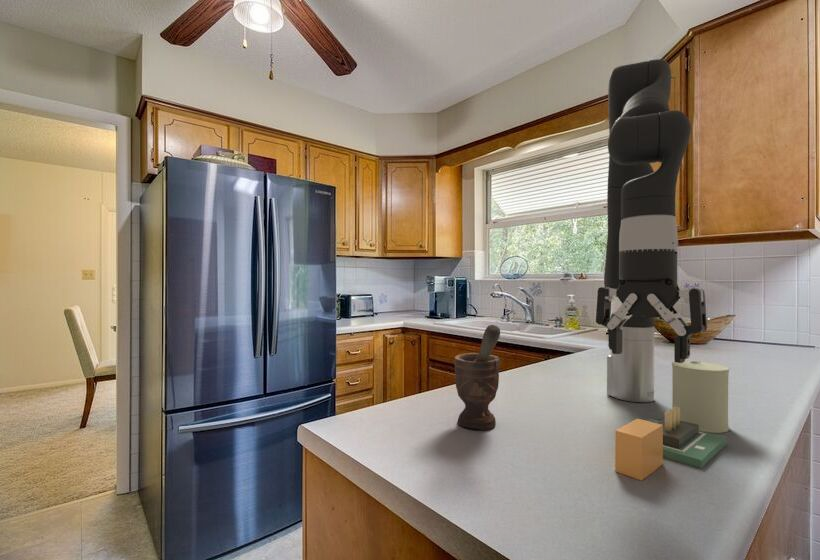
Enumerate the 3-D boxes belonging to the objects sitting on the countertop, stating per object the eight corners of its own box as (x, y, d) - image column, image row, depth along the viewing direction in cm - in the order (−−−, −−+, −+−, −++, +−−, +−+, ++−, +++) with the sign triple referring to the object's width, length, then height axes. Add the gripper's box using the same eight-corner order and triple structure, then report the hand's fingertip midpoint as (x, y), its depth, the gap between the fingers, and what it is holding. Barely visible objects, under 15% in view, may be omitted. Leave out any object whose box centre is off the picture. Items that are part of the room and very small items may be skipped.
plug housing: (615, 471, 60) (615, 430, 60) (637, 456, 65) (637, 418, 65) (641, 480, 57) (641, 437, 57) (662, 464, 62) (662, 424, 62)
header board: (618, 443, 70) (618, 409, 70) (649, 424, 79) (650, 395, 79) (701, 468, 61) (701, 429, 61) (726, 444, 70) (726, 410, 70)
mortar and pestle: (521, 431, 75) (522, 323, 75) (489, 441, 70) (490, 326, 70) (476, 414, 85) (476, 318, 85) (445, 422, 80) (445, 320, 80)
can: (718, 419, 82) (718, 360, 82) (738, 435, 74) (738, 369, 74) (665, 414, 85) (666, 357, 85) (678, 429, 77) (679, 365, 77)
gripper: (588, 250, 64) (588, 353, 63) (696, 244, 53) (695, 369, 53) (609, 252, 68) (609, 349, 68) (712, 247, 58) (712, 362, 57)
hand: (646, 357), depth 60 cm, fingers open, 8 cm apart
